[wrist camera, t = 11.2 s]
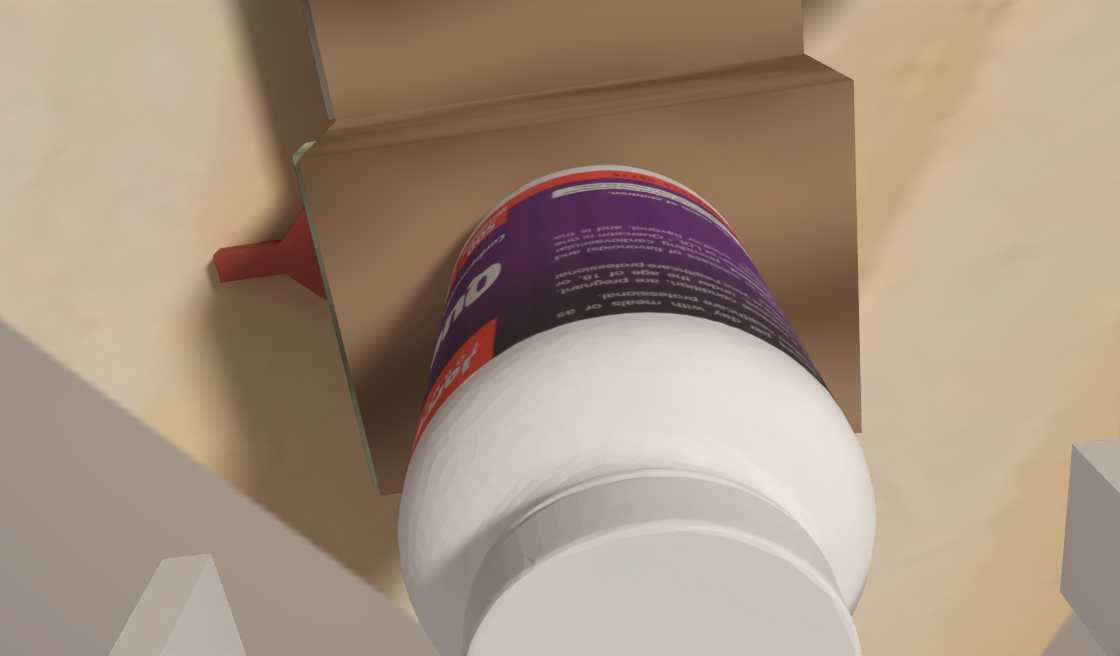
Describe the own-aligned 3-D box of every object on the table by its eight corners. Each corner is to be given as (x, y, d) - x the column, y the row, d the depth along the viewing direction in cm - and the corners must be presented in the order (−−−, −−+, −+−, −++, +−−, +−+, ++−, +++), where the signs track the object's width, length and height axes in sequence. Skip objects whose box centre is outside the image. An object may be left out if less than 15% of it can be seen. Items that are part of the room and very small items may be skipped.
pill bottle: (453, 144, 25) (355, 411, 12) (769, 164, 25) (1023, 445, 12) (446, 428, 28) (362, 892, 15) (727, 442, 28) (891, 909, 15)
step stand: (88, -209, 30) (-86, -255, 21) (755, -314, 29) (842, -404, 21) (259, 386, 37) (179, 521, 29) (788, 314, 37) (861, 432, 28)
